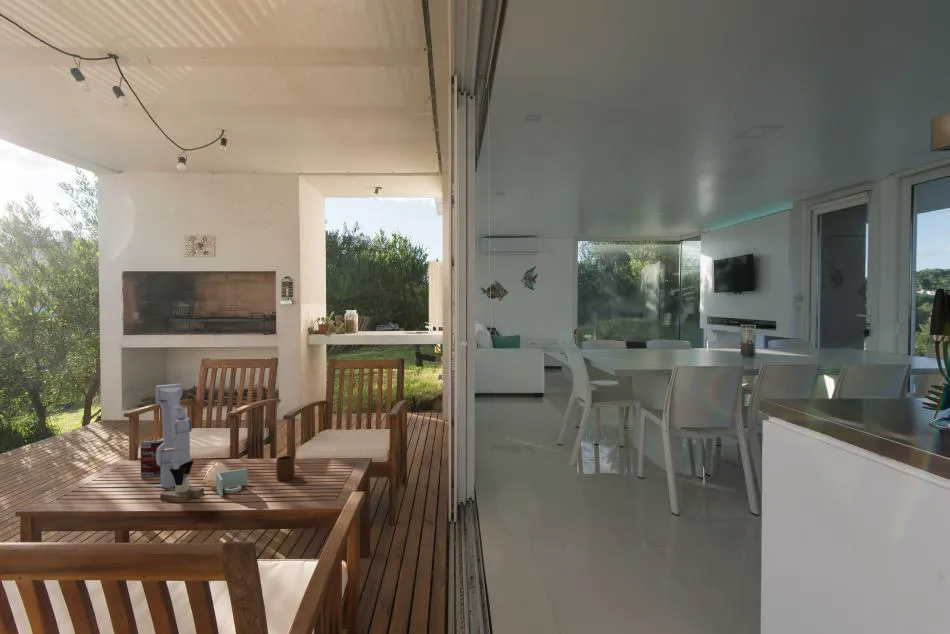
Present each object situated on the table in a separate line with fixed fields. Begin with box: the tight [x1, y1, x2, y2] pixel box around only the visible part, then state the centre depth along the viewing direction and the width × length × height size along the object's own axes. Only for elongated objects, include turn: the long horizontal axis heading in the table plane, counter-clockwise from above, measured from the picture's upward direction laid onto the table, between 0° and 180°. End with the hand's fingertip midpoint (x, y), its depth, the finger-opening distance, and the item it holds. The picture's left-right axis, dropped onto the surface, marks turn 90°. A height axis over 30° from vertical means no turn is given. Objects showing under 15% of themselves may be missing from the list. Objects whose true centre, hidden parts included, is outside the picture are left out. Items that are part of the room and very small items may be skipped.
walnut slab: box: [159, 485, 205, 504], centre depth 214 cm, size 11×11×3 cm
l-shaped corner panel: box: [216, 467, 248, 498], centre depth 221 cm, size 12×12×8 cm
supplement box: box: [140, 439, 165, 478], centre depth 245 cm, size 9×5×16 cm, turn 100°
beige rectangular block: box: [174, 472, 191, 493], centre depth 214 cm, size 4×4×6 cm
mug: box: [276, 454, 296, 482], centre depth 238 cm, size 12×8×9 cm, turn 3°
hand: (182, 482), depth 214 cm, fingers open, 7 cm apart
